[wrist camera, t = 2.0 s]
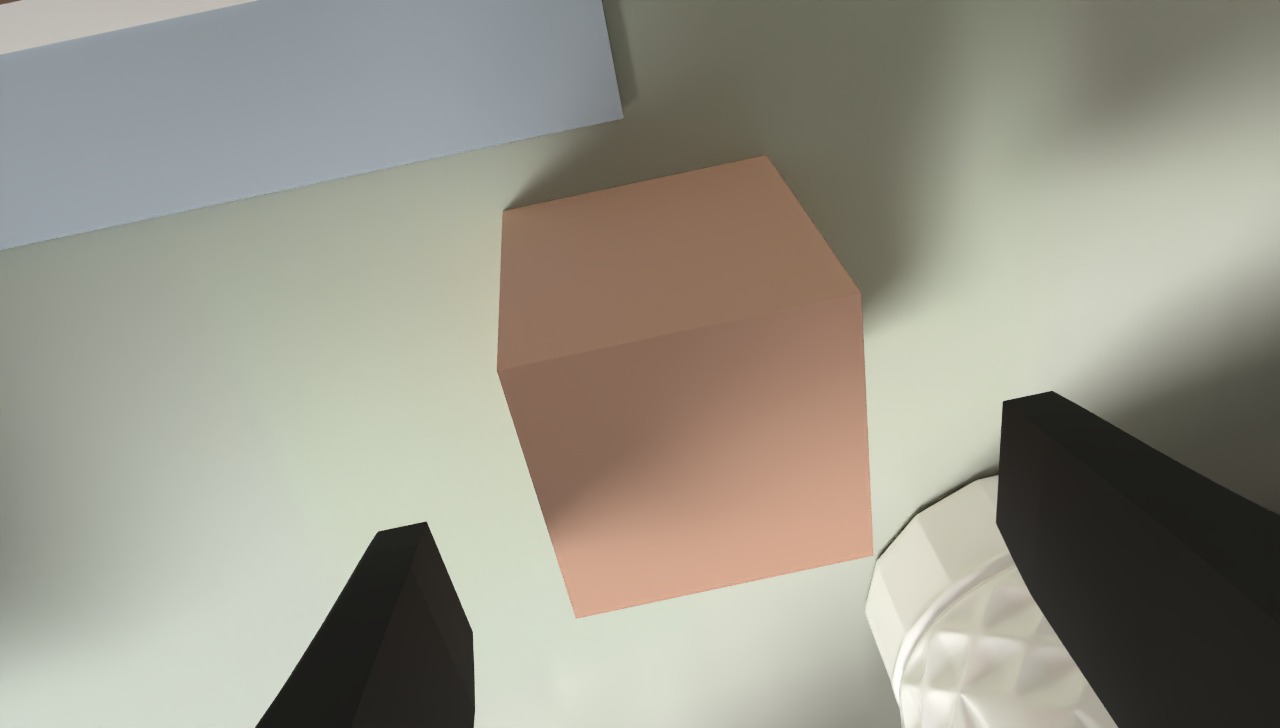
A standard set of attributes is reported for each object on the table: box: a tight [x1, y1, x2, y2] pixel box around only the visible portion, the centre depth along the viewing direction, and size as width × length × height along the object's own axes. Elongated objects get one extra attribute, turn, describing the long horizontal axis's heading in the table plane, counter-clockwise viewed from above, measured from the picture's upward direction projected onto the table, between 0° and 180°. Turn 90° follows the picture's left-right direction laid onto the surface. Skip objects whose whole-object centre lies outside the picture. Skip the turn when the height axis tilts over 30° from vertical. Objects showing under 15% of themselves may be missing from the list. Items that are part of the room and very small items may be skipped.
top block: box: [497, 155, 873, 619], centre depth 14 cm, size 4×4×5 cm
